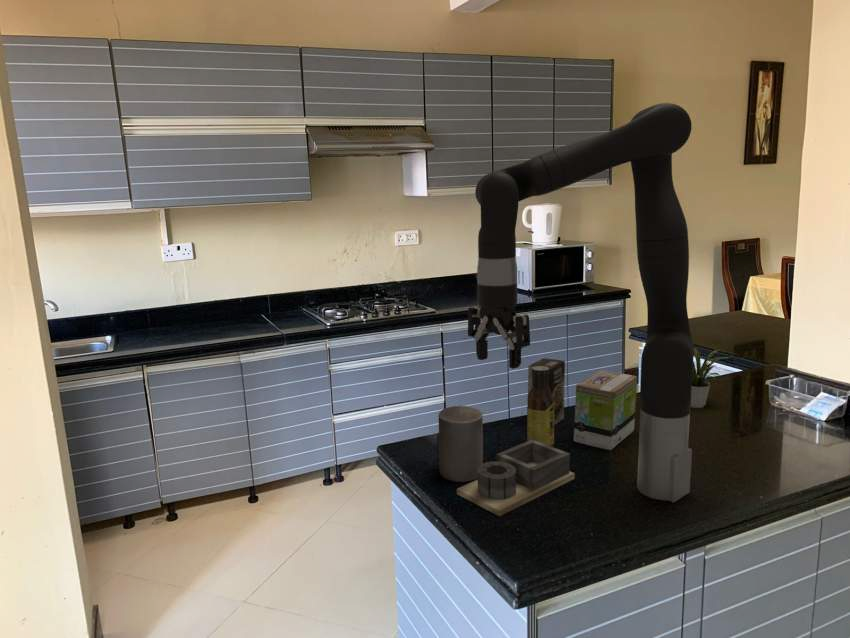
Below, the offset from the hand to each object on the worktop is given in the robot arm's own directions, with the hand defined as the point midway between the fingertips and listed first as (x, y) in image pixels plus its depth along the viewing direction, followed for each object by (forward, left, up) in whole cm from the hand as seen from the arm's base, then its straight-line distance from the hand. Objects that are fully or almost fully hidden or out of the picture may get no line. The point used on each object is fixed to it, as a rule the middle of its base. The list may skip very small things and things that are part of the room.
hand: (498, 363), depth 125 cm
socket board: (0, -5, -28) cm, 29 cm away
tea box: (+3, -40, -28) cm, 49 cm away
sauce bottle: (+9, -23, -28) cm, 38 cm away
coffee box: (+19, -37, -28) cm, 51 cm away
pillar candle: (+13, -2, -28) cm, 31 cm away
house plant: (-2, -77, -28) cm, 83 cm away
